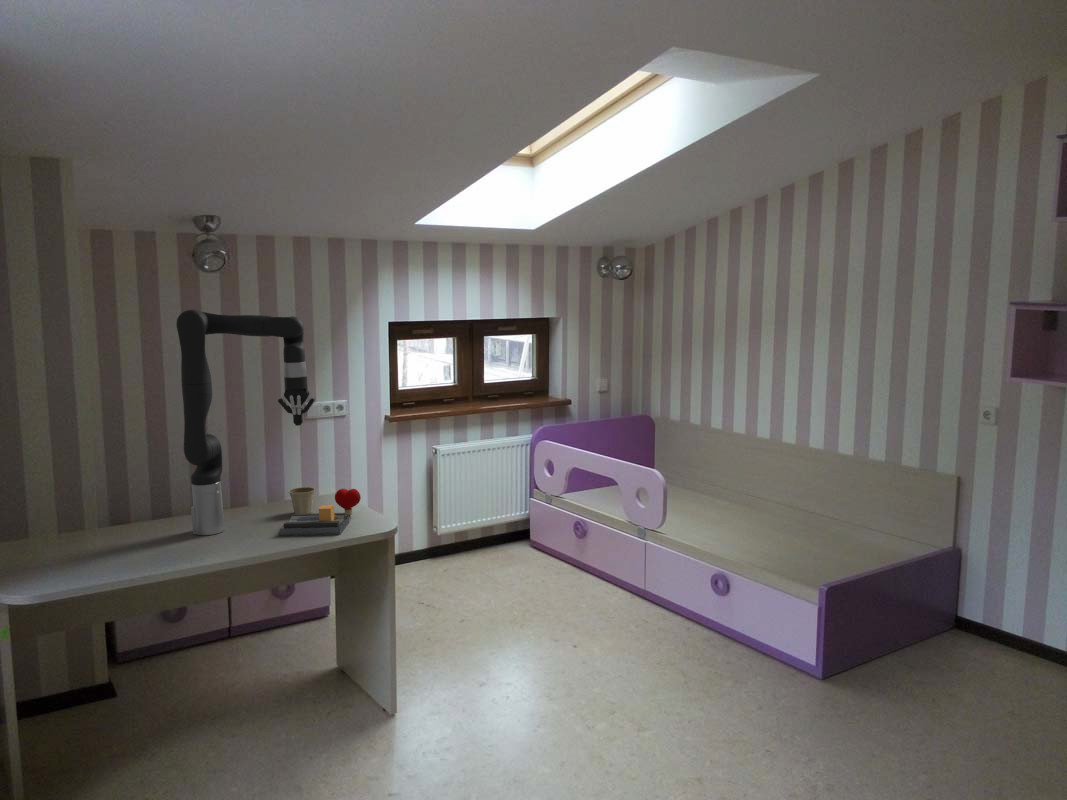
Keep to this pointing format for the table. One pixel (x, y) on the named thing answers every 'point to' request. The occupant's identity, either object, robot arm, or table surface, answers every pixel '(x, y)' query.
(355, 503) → the red heart figurine
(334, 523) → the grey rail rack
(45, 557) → the table surface
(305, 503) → the flower pot
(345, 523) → the panel
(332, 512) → the tan cardboard cube
